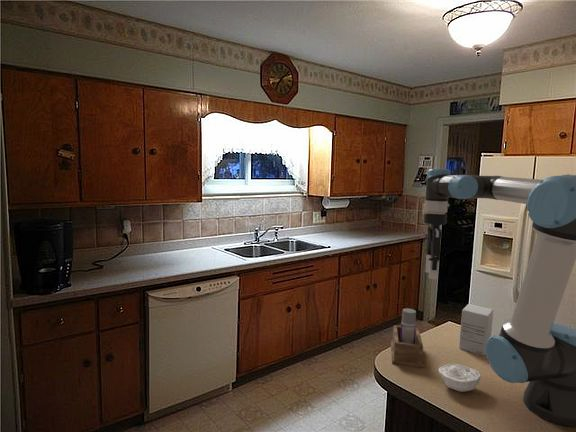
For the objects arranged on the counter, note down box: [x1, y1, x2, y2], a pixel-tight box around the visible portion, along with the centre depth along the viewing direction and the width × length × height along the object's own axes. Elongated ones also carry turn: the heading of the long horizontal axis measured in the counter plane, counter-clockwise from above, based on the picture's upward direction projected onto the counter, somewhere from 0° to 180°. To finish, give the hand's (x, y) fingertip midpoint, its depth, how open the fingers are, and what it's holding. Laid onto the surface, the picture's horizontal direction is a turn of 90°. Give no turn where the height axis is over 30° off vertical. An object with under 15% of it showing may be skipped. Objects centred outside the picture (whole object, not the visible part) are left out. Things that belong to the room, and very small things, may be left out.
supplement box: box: [458, 303, 494, 357], centre depth 139 cm, size 9×9×15 cm
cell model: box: [438, 363, 482, 393], centre depth 113 cm, size 10×12×7 cm
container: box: [400, 307, 417, 344], centre depth 133 cm, size 5×5×15 cm
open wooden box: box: [390, 324, 425, 369], centre depth 133 cm, size 16×10×7 cm, turn 166°
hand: (431, 275), depth 136 cm, fingers open, 8 cm apart
